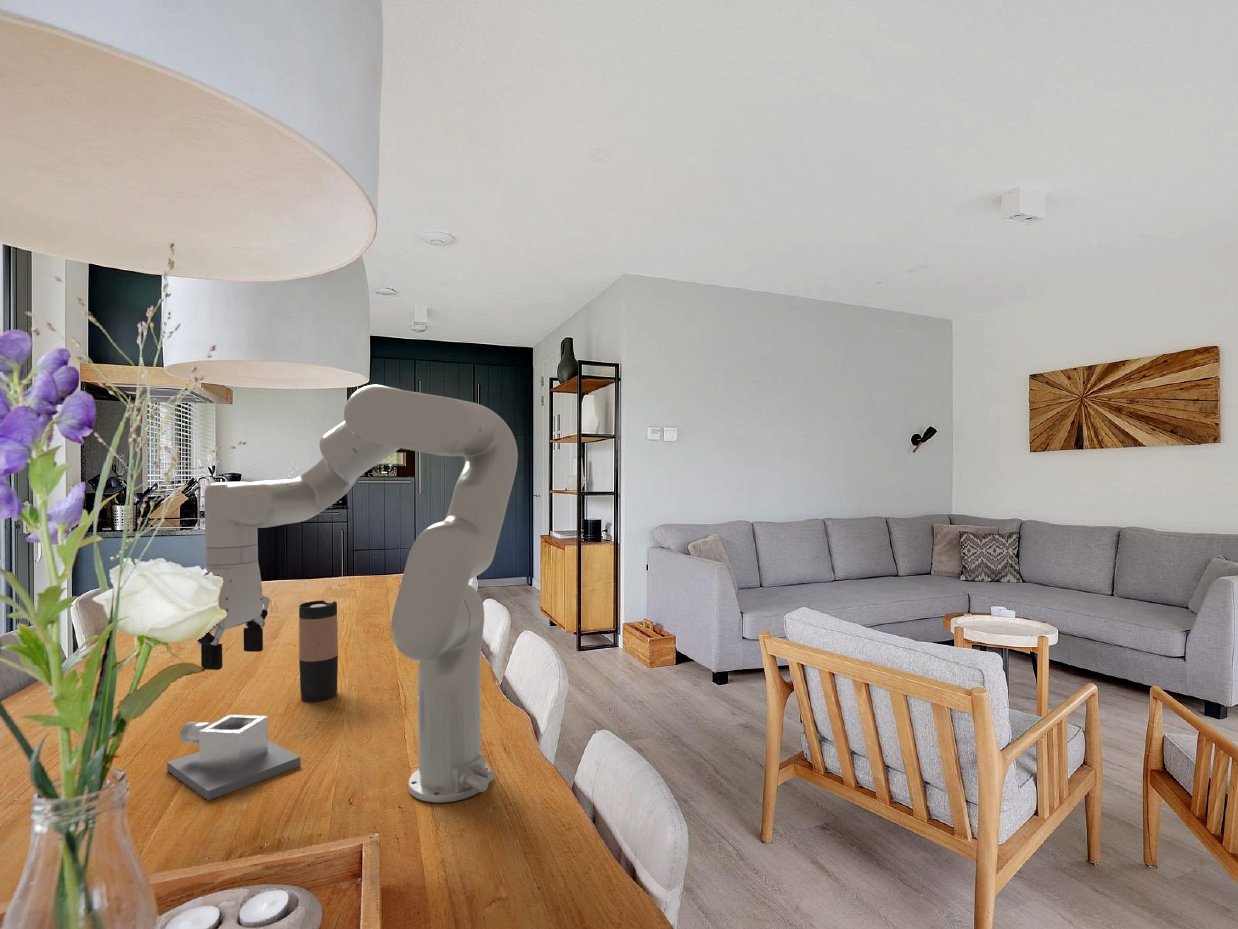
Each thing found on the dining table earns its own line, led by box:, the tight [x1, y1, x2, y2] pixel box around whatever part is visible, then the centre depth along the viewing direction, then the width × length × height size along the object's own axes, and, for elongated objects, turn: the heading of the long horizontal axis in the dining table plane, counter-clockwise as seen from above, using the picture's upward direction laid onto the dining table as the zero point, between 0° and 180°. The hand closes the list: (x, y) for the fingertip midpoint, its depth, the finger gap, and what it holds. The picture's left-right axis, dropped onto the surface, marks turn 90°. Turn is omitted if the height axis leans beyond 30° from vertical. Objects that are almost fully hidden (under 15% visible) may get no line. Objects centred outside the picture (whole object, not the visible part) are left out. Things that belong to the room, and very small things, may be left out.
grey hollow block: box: [179, 714, 269, 771], centre depth 109 cm, size 12×7×6 cm, turn 83°
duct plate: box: [166, 729, 302, 802], centre depth 109 cm, size 16×14×6 cm
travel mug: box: [298, 600, 339, 703], centre depth 143 cm, size 8×8×20 cm
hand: (233, 659), depth 109 cm, fingers open, 9 cm apart
